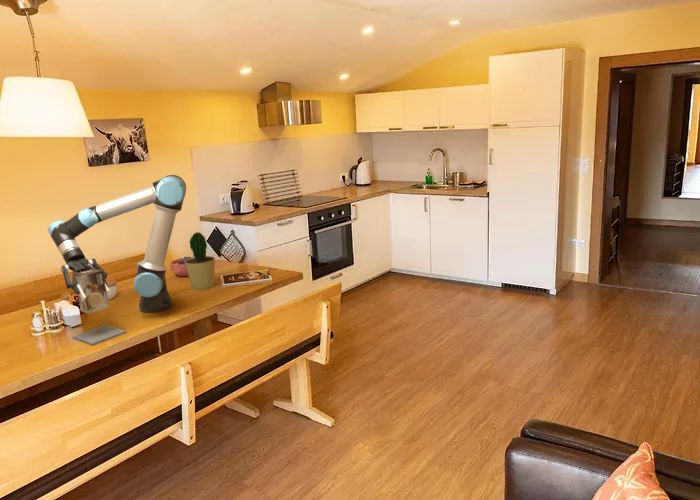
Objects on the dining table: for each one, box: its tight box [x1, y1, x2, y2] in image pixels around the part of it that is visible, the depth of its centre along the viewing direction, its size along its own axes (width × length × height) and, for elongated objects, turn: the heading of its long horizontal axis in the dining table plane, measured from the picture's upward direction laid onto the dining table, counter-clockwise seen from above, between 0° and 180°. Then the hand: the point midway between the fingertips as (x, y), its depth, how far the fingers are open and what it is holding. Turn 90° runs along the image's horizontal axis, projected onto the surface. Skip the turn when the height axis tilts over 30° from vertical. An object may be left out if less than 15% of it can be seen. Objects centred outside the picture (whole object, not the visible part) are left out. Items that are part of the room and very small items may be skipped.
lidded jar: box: [106, 279, 118, 300], centre depth 278 cm, size 11×11×9 cm
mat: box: [72, 324, 127, 346], centre depth 227 cm, size 15×15×1 cm
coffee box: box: [74, 268, 110, 314], centre depth 223 cm, size 9×6×16 cm
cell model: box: [169, 256, 194, 277], centre depth 312 cm, size 17×20×11 cm
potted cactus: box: [185, 231, 216, 291], centre depth 285 cm, size 15×15×30 cm
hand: (96, 295), depth 221 cm, fingers closed on coffee box, 9 cm apart
